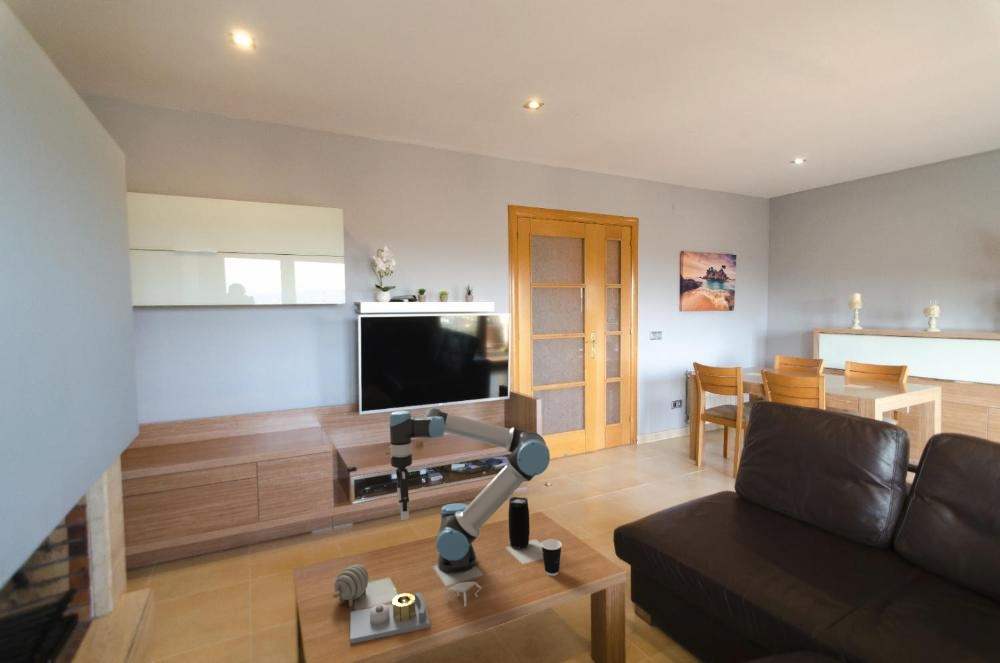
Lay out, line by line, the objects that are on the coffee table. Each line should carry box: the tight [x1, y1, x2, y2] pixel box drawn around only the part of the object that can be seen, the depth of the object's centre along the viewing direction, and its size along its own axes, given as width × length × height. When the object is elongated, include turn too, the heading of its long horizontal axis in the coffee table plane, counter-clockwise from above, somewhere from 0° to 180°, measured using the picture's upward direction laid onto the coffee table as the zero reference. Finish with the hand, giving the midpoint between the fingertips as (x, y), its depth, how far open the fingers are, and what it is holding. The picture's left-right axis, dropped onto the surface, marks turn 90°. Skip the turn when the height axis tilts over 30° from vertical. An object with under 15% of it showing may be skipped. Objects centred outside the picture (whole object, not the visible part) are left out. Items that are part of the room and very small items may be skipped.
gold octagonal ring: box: [392, 592, 416, 622], centre depth 158 cm, size 7×7×5 cm
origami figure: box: [444, 581, 482, 607], centre depth 168 cm, size 12×8×5 cm
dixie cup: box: [540, 538, 563, 577], centre depth 184 cm, size 8×8×11 cm
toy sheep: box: [333, 564, 370, 608], centre depth 169 cm, size 11×17×11 cm, turn 165°
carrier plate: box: [349, 591, 431, 644], centre depth 157 cm, size 24×14×5 cm, turn 106°
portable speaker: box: [508, 496, 531, 550], centre depth 206 cm, size 9×9×20 cm
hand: (403, 511), depth 178 cm, fingers open, 13 cm apart
